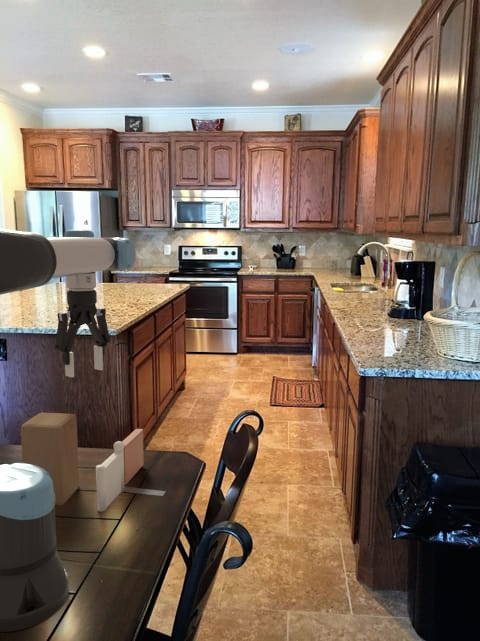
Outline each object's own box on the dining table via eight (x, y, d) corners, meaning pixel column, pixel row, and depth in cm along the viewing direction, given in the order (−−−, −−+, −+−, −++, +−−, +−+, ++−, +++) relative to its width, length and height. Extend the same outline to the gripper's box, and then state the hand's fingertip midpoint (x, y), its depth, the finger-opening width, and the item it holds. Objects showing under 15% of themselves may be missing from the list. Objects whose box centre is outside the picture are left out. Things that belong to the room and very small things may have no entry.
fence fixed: (104, 512, 115) (103, 460, 113) (94, 510, 115) (92, 459, 113) (126, 486, 127) (125, 439, 125) (117, 485, 127) (116, 439, 126)
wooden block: (80, 487, 127) (77, 412, 124) (63, 507, 118) (59, 427, 115) (43, 485, 128) (39, 411, 125) (23, 505, 119) (18, 425, 116)
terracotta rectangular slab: (126, 484, 127) (125, 446, 126) (118, 483, 128) (117, 445, 126) (143, 464, 139) (143, 429, 137) (137, 464, 139) (136, 428, 138)
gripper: (54, 293, 120) (58, 383, 123) (122, 287, 137) (124, 367, 141) (36, 291, 124) (40, 378, 128) (104, 286, 142) (107, 363, 145)
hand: (84, 372), depth 134 cm, fingers open, 9 cm apart
